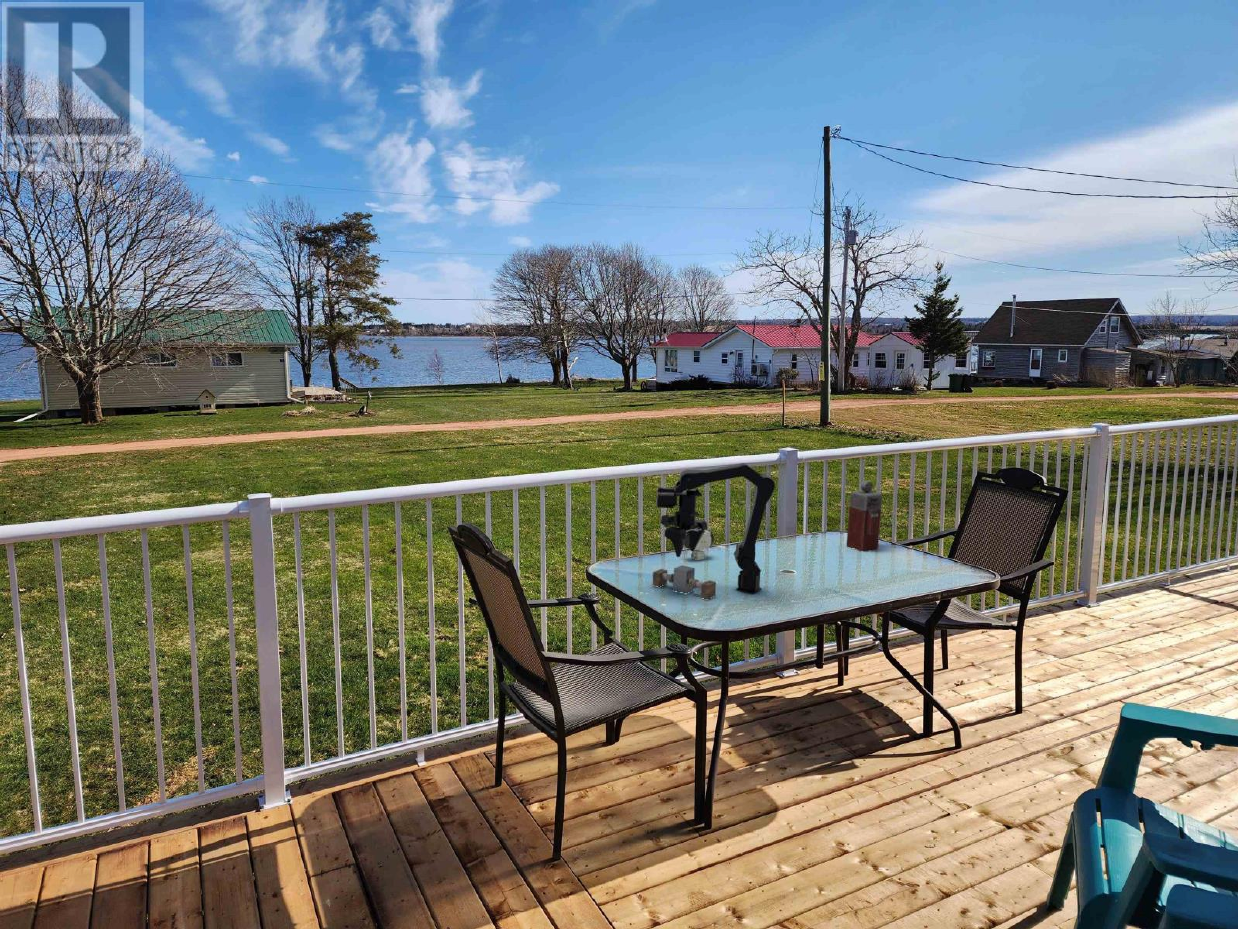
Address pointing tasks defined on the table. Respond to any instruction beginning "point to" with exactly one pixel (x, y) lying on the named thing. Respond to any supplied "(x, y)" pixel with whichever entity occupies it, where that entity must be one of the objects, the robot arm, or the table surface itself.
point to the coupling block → (683, 579)
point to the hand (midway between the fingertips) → (685, 554)
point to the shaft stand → (706, 588)
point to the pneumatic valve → (700, 544)
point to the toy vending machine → (864, 518)
